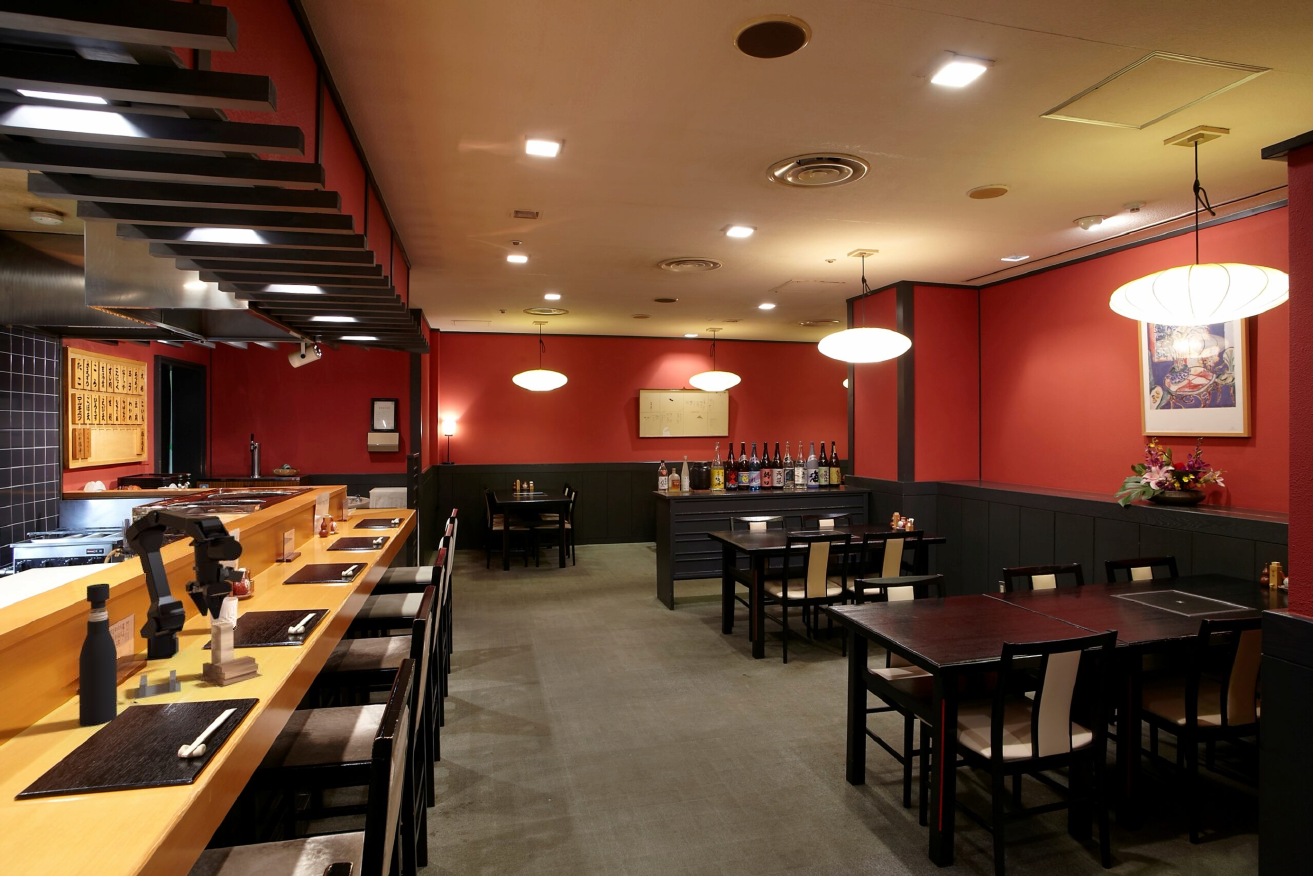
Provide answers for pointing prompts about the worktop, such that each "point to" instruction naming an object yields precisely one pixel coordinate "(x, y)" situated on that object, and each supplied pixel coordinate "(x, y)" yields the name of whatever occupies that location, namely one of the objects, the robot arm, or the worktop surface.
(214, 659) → the birch board
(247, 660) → the offcut stack
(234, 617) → the white cup
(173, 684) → the grey holder
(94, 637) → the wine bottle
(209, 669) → the walnut rack
